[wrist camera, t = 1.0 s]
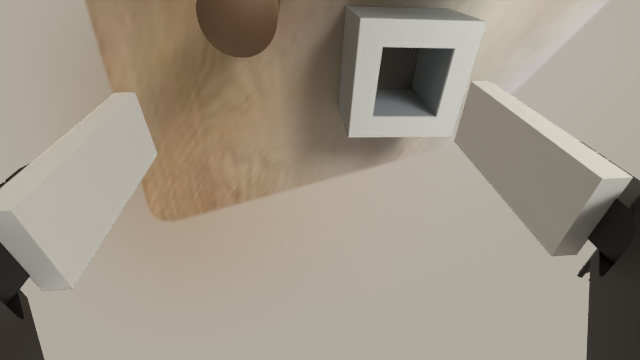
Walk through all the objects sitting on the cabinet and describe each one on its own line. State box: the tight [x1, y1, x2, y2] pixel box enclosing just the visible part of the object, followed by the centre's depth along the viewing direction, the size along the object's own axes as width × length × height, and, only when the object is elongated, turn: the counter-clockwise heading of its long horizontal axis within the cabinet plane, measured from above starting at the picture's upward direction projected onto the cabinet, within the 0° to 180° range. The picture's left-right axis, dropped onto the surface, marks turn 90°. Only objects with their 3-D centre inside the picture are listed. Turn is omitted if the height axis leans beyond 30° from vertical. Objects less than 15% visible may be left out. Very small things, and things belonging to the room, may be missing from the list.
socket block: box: [338, 6, 487, 137], centre depth 30 cm, size 10×10×7 cm
